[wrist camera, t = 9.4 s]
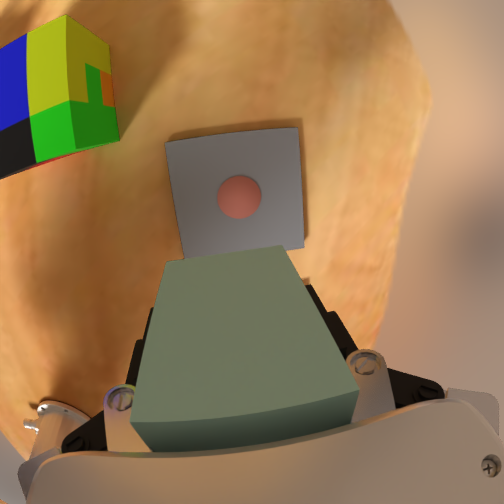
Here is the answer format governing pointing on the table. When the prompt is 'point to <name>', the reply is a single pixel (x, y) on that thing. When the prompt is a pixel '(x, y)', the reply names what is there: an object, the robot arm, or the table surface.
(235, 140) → the slate mat
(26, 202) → the table surface
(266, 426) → the teal block
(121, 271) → the table surface
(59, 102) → the puzzle toy
